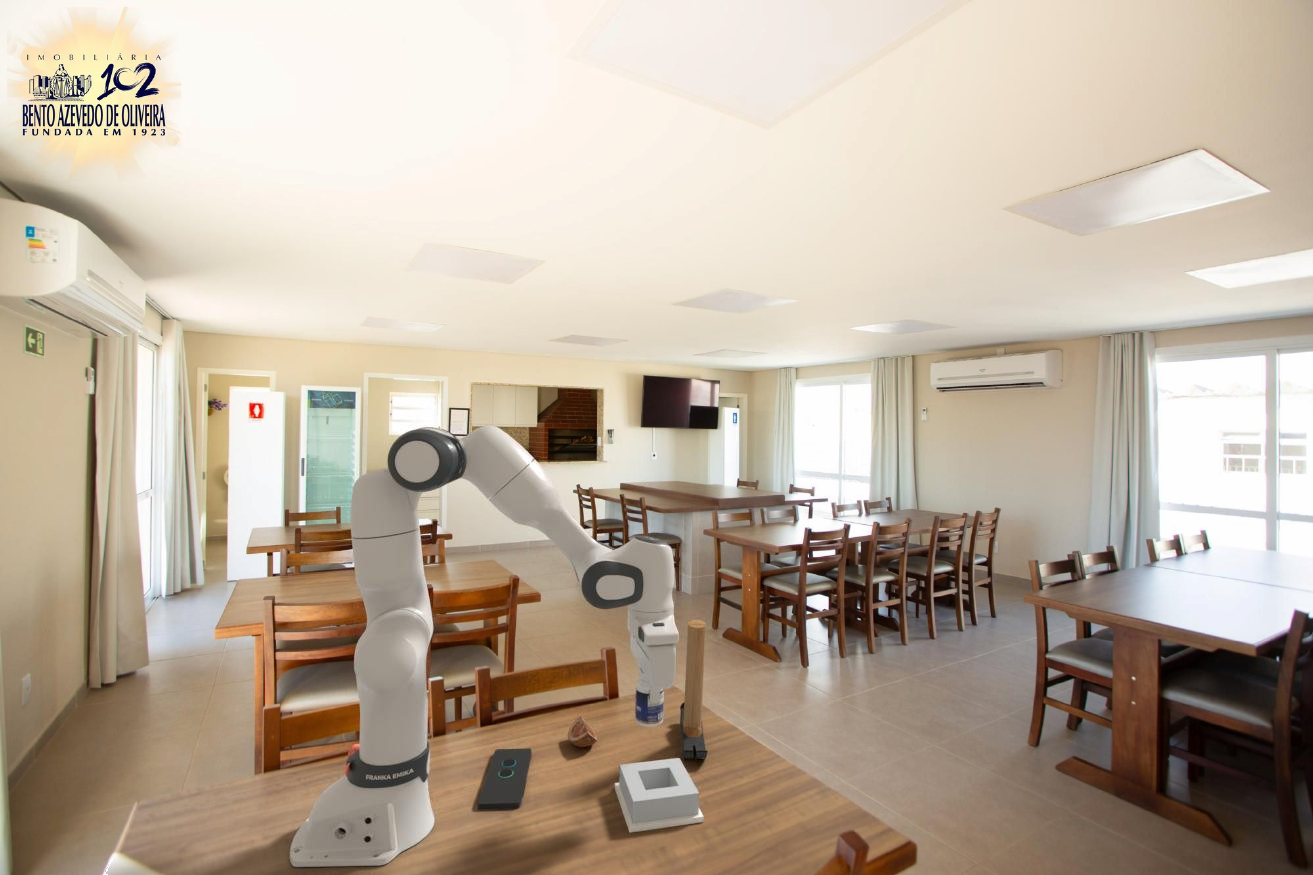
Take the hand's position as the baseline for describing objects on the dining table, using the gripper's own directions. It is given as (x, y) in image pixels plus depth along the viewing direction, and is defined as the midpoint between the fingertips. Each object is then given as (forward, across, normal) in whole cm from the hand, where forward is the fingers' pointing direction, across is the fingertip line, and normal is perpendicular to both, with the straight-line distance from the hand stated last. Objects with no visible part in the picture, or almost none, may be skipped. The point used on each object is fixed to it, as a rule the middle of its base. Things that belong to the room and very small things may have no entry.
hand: (649, 693), depth 115 cm
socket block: (+22, 0, +2) cm, 22 cm away
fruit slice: (+22, -25, -9) cm, 35 cm away
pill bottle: (+6, 0, 0) cm, 6 cm away
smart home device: (+22, -15, -26) cm, 37 cm away
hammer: (+22, -21, +16) cm, 35 cm away
